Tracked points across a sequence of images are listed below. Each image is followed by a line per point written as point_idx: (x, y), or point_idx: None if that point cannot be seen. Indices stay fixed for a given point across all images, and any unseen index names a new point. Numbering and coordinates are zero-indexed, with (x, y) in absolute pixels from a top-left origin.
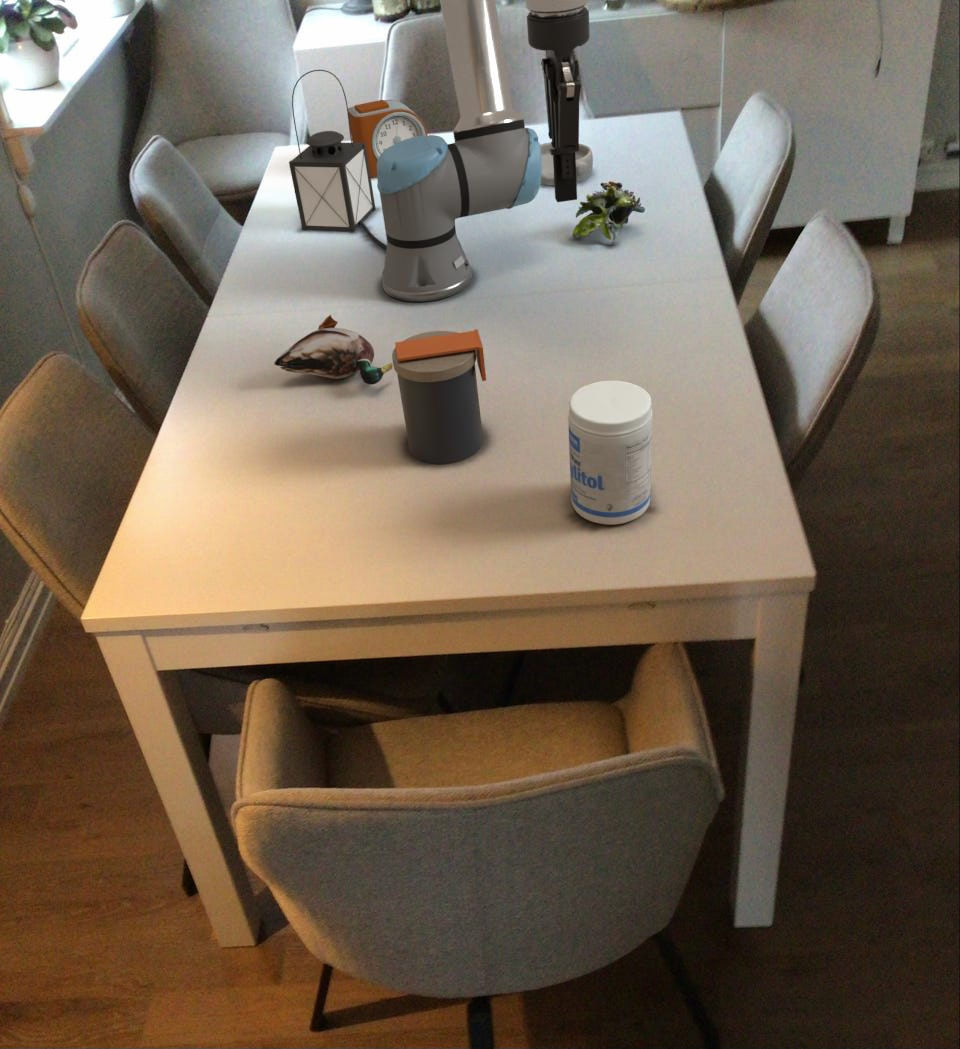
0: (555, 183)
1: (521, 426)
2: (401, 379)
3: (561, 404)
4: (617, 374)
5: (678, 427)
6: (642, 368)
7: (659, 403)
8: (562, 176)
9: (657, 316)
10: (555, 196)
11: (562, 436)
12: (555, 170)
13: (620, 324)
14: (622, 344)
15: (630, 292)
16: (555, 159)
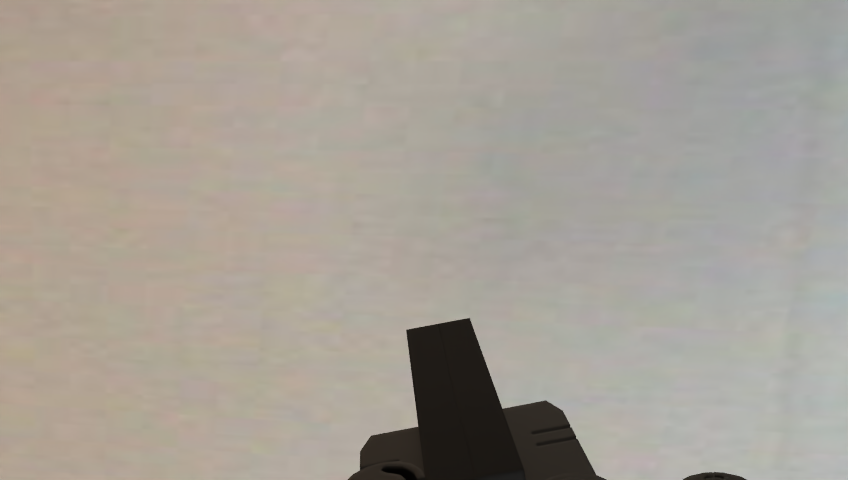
0: (446, 365)
1: (57, 43)
2: None
3: (168, 152)
4: (311, 297)
5: (55, 420)
6: (336, 357)
7: (164, 386)
8: (368, 447)
9: (601, 407)
10: (459, 326)
11: (9, 152)
12: (426, 414)
13: (576, 315)
14: (466, 315)
15: (752, 348)
16: (426, 463)
